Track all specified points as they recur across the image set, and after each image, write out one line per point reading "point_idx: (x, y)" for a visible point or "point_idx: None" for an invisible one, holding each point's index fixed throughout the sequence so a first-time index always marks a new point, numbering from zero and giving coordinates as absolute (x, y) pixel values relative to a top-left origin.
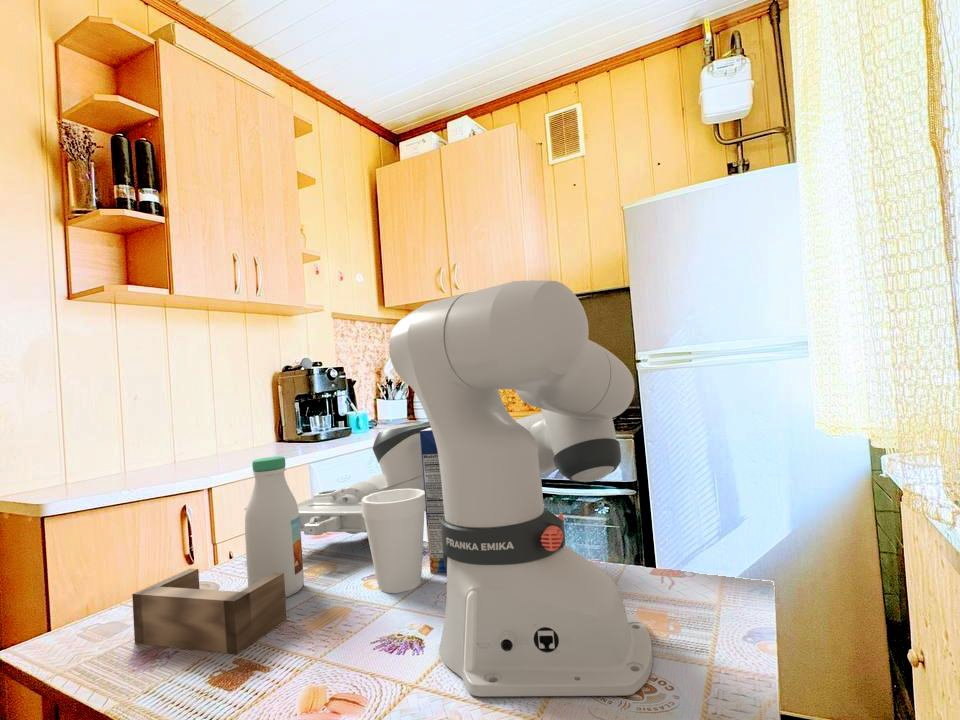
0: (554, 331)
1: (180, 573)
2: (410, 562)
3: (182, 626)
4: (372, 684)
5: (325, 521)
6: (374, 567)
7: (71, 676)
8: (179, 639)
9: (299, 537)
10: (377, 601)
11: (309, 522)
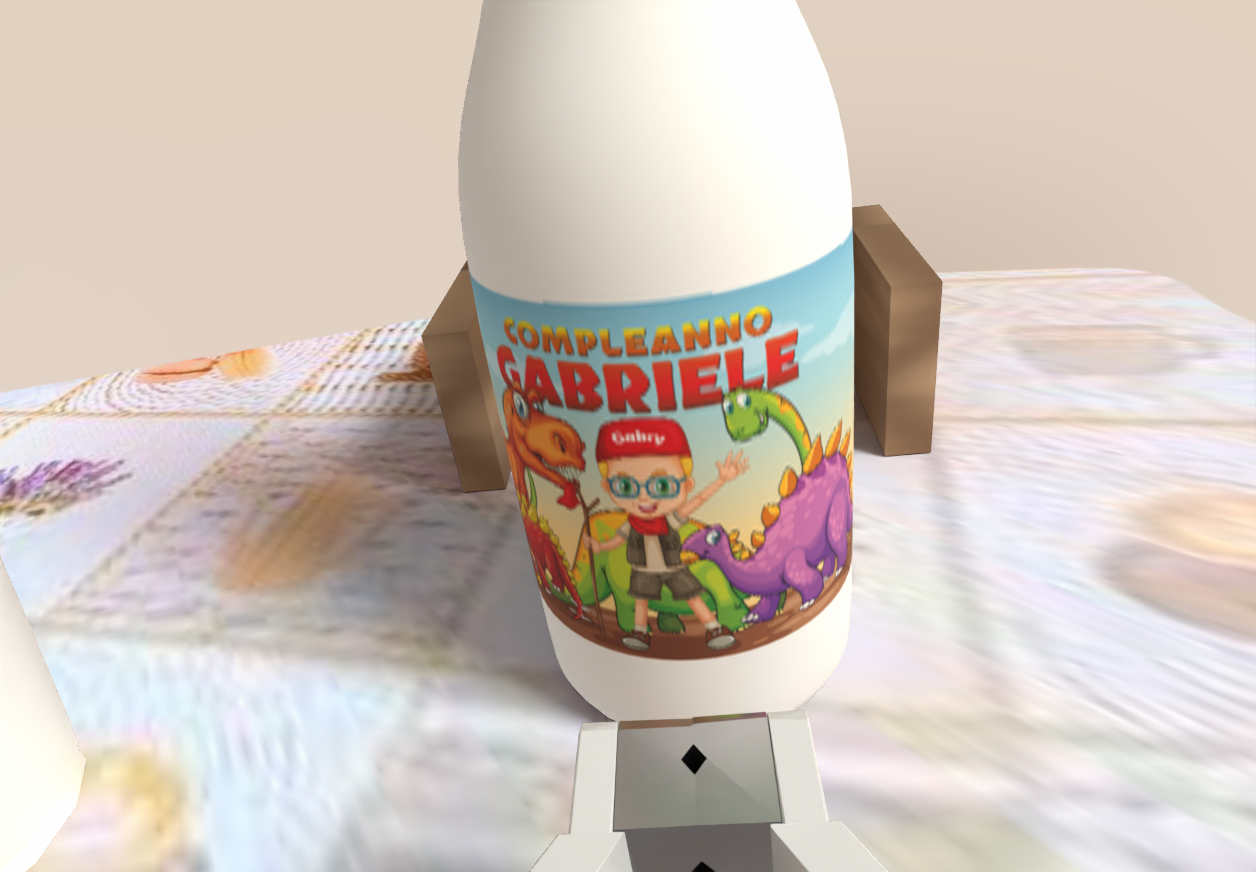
0: None
1: (916, 262)
2: None
3: None
4: (126, 400)
5: (556, 844)
6: (43, 660)
7: None
8: None
9: (500, 414)
10: (100, 650)
11: (804, 786)
